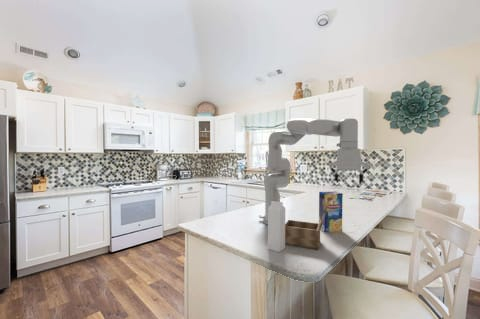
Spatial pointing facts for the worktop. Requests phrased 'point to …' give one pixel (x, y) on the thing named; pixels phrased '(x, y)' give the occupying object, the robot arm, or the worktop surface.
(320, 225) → the lid
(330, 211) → the beverage box
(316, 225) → the crate
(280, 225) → the milk
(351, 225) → the worktop surface
